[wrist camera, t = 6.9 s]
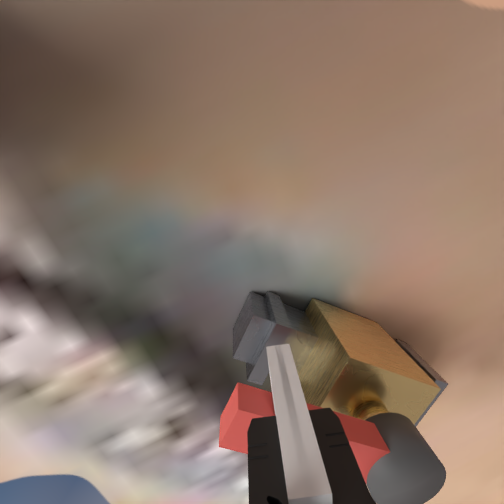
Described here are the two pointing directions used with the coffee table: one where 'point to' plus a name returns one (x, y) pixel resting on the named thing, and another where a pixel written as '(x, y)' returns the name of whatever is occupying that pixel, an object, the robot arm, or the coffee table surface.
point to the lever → (355, 447)
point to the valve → (337, 358)
